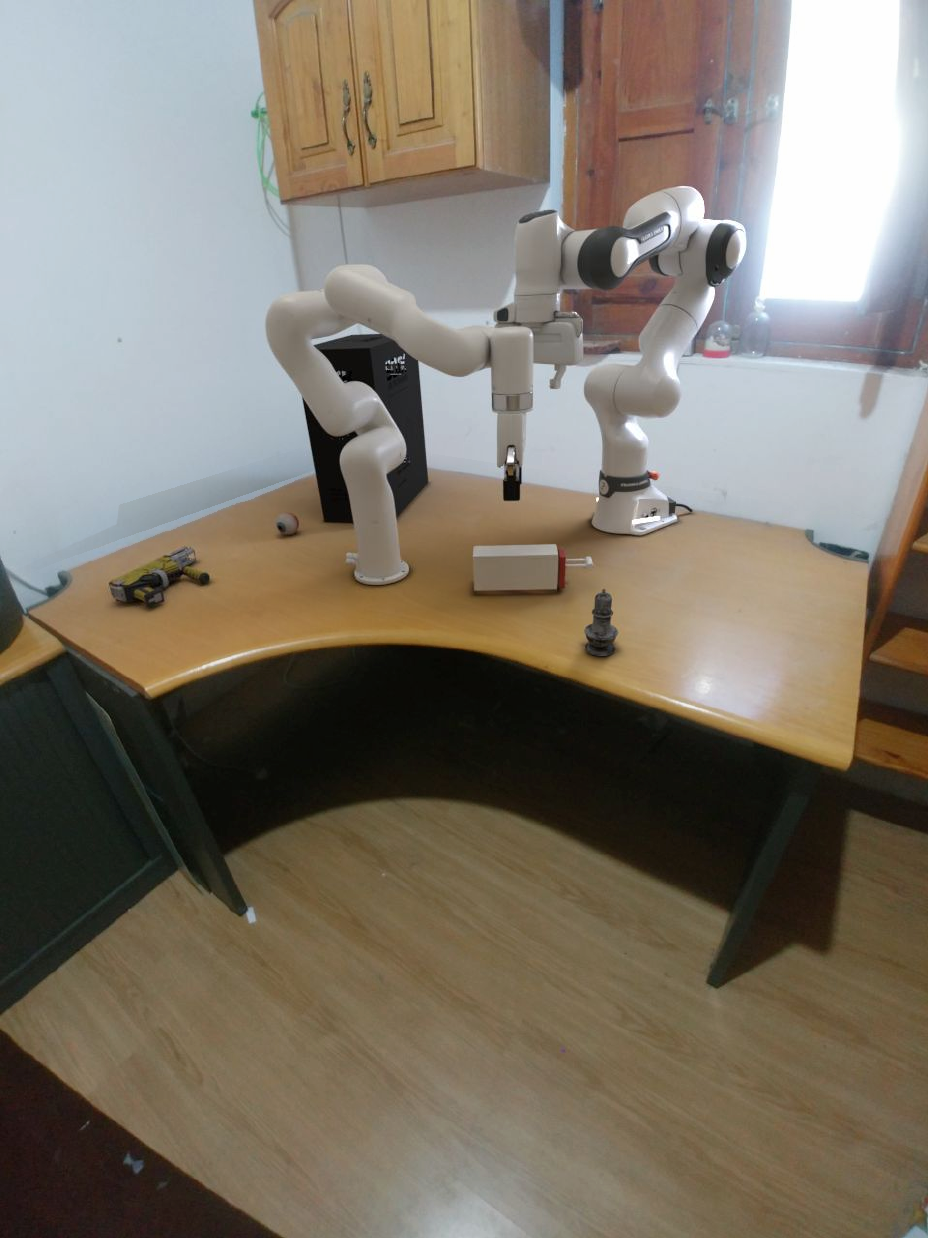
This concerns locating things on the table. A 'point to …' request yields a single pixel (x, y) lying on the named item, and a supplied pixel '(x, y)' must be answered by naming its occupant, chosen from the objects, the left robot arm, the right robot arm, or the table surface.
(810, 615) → the table surface
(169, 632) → the table surface
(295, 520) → the eyeball
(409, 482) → the black computer case
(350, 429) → the left robot arm
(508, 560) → the cabinet
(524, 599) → the table surface
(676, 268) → the right robot arm
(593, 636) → the dark grey chess piece
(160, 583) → the toy gun
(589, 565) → the drawer
